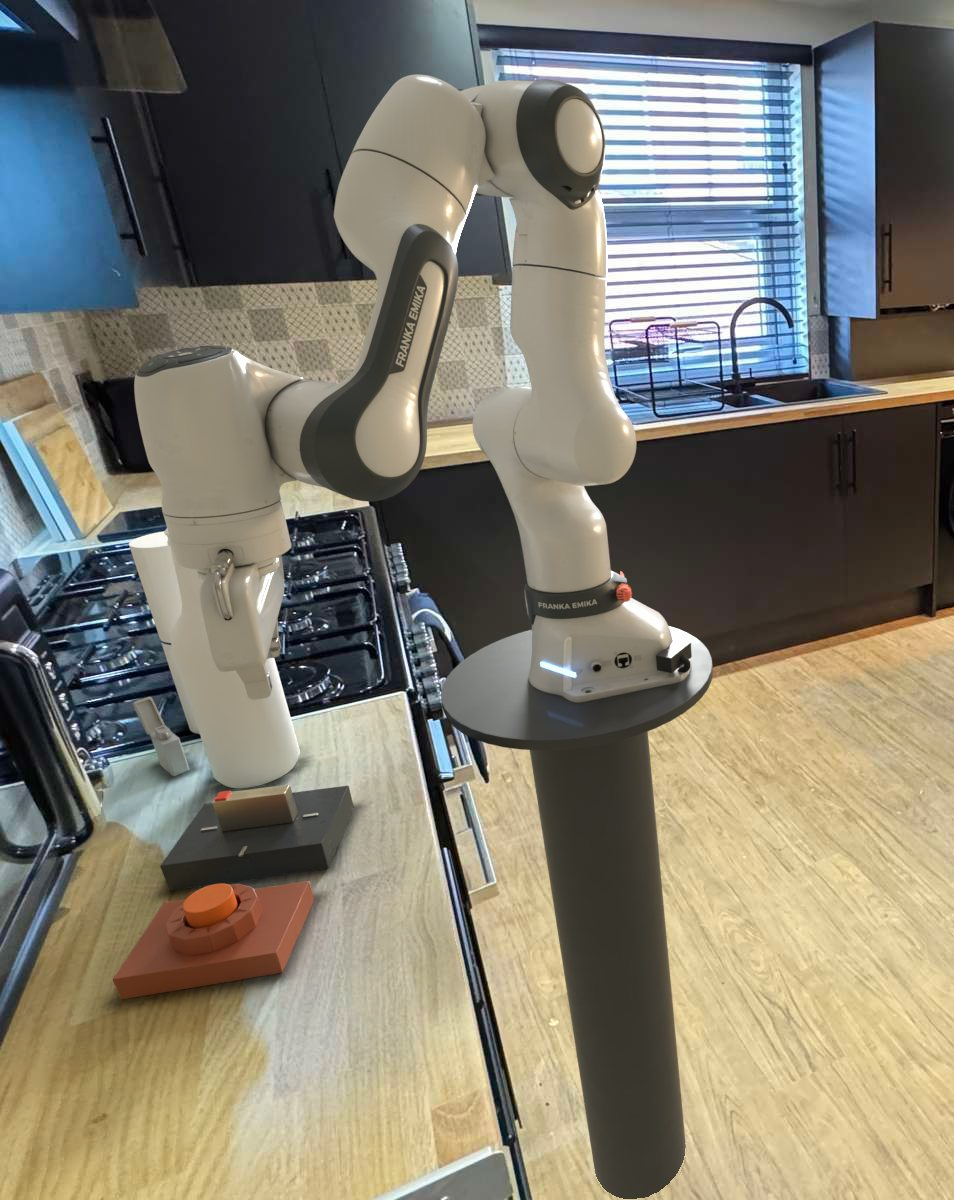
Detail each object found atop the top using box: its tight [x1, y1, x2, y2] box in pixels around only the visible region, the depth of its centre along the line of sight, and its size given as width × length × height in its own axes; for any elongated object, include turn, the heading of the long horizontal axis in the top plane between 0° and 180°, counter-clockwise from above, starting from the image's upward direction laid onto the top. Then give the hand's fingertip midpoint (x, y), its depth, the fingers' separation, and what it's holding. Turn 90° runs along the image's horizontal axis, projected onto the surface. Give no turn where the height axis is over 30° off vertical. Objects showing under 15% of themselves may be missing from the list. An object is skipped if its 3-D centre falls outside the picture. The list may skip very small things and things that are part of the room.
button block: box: [112, 880, 315, 1000], centre depth 73 cm, size 12×9×4 cm
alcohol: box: [164, 528, 301, 789], centre depth 94 cm, size 9×9×30 cm
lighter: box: [132, 696, 190, 777], centre depth 99 cm, size 7×2×8 cm, turn 53°
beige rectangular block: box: [211, 784, 298, 832], centre depth 84 cm, size 6×2×4 cm, turn 103°
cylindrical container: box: [128, 530, 200, 735], centre depth 106 cm, size 7×7×25 cm
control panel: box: [159, 785, 355, 892], centre depth 86 cm, size 14×11×3 cm
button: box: [183, 883, 238, 929], centre depth 72 cm, size 4×4×2 cm
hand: (266, 674), depth 81 cm, fingers open, 8 cm apart
